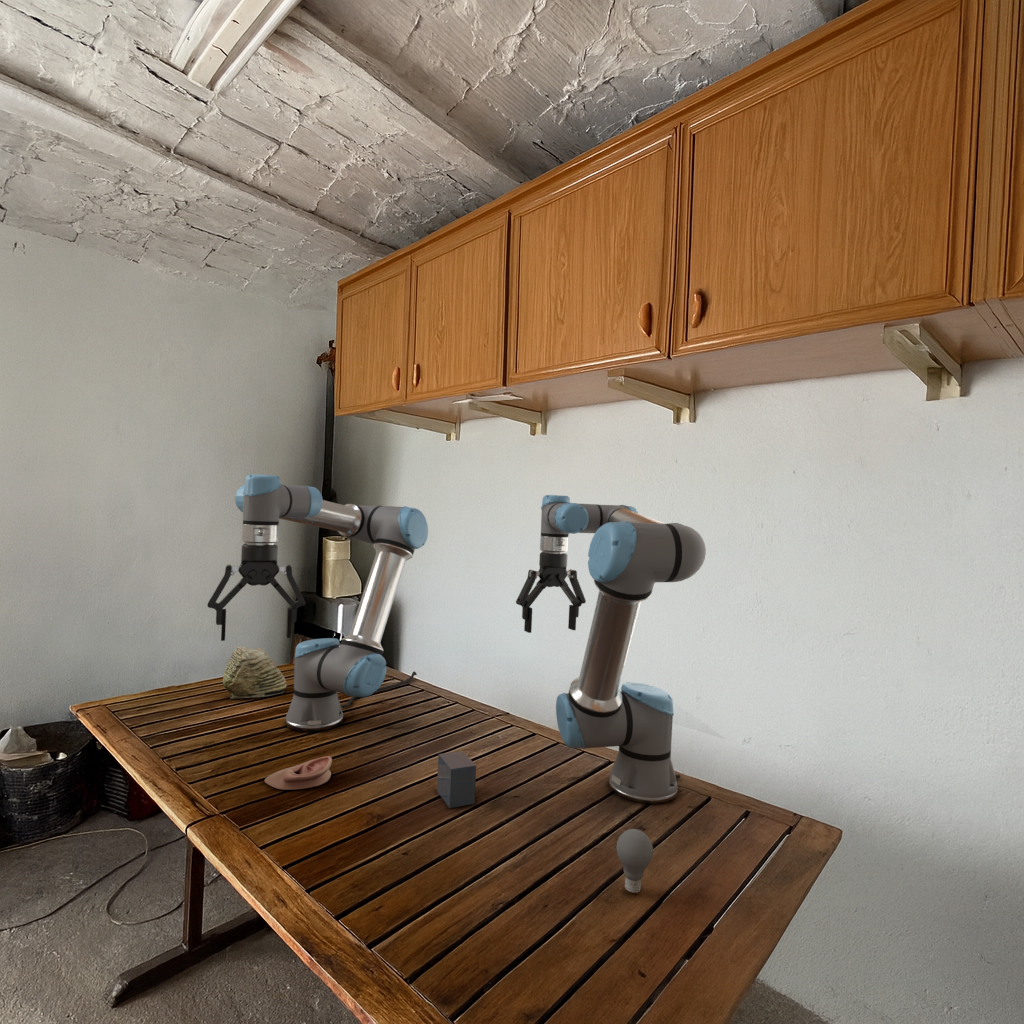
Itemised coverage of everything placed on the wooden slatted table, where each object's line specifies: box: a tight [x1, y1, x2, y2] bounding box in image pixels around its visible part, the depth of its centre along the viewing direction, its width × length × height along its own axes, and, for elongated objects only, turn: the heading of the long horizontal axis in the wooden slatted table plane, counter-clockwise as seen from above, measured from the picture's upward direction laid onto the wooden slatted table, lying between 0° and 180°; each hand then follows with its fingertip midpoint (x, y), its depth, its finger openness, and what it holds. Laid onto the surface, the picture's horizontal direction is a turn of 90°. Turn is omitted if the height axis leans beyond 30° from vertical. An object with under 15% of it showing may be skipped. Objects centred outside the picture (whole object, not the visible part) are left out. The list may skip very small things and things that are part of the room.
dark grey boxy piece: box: [436, 750, 477, 809], centre depth 136 cm, size 8×6×8 cm
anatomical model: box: [264, 755, 333, 791], centre depth 141 cm, size 13×4×12 cm
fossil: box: [222, 646, 288, 699], centre depth 198 cm, size 9×18×15 cm, turn 132°
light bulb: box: [615, 828, 654, 894], centre depth 106 cm, size 6×6×10 cm
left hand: (256, 638), depth 142 cm, fingers open, 13 cm apart
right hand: (550, 630), depth 171 cm, fingers open, 13 cm apart
